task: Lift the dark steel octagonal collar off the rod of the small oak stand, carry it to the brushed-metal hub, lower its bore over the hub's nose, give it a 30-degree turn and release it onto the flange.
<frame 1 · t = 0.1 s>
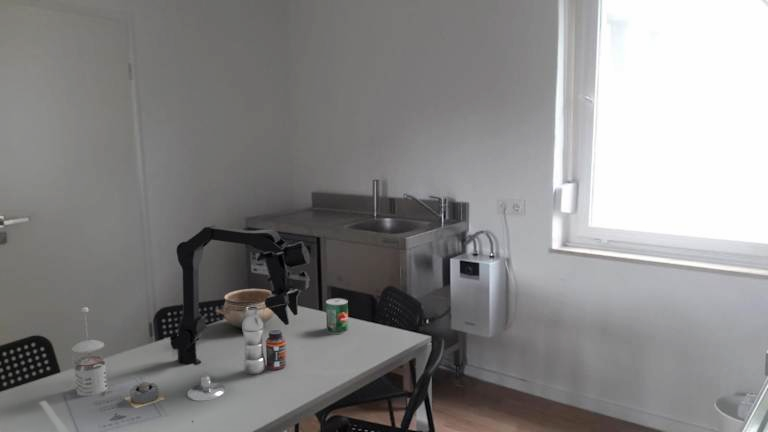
hand: (291, 319, 180), 15 cm above the table, tool pointing down, fingers open, 9 cm apart
hub: (206, 395, 164), on the table
cooking pot: (250, 327, 221), on the table
supplement bottle: (276, 367, 184), on the table
collar: (144, 398, 161), point 1 cm above the table, touching stand
french press: (90, 392, 167), on the table
stand: (145, 402, 161), on the table
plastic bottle: (255, 372, 180), on the table
canned tomato: (337, 331, 216), on the table
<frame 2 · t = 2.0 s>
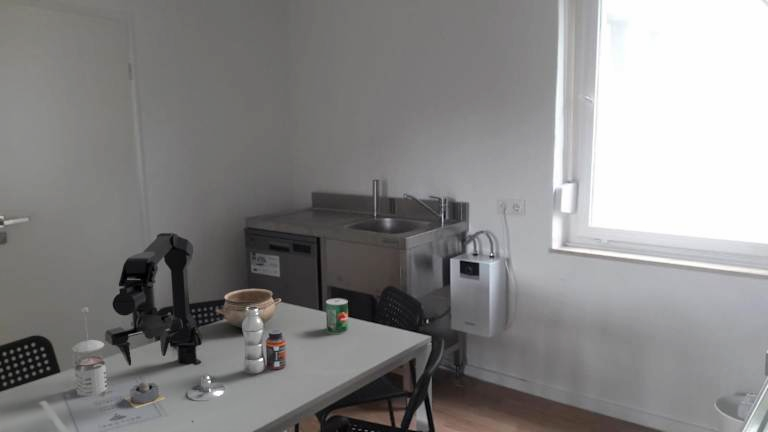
hand: (147, 360, 159), 12 cm above the table, tool pointing down, fingers open, 9 cm apart
nothing on the table moved.
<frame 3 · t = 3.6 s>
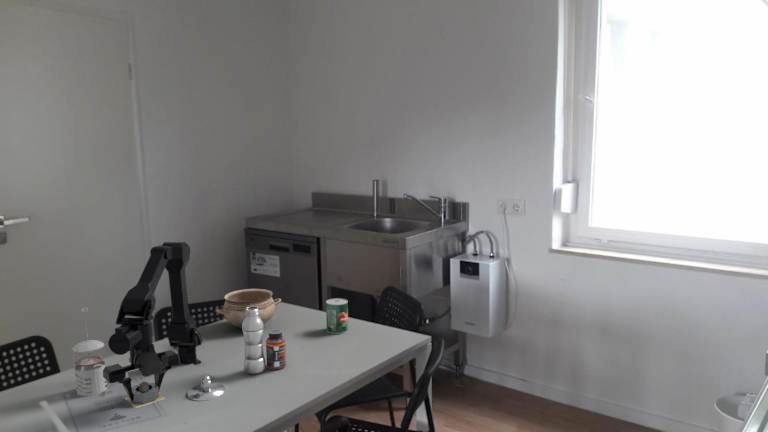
hand: (144, 395, 161), 2 cm above the table, tool pointing down, fingers closed on collar, 7 cm apart
collar: (144, 398, 161), point 1 cm above the table, touching gripper, stand
everything else where it was.
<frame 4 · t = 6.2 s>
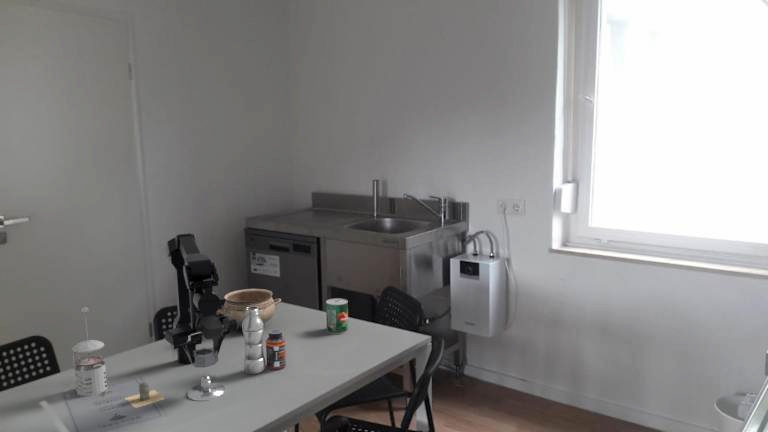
hand: (204, 359, 163), 10 cm above the table, tool pointing down, fingers closed on collar, 7 cm apart
collar: (204, 362, 163), point 10 cm above the table, touching gripper
everything else where it was.
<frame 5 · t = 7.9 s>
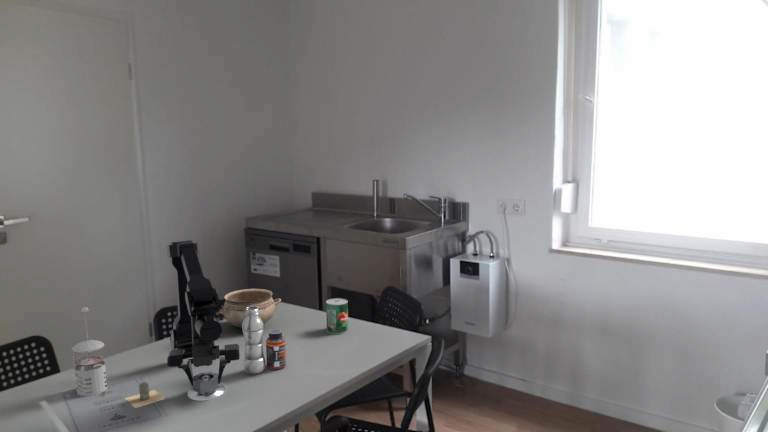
hand: (206, 384, 164), 3 cm above the table, tool pointing down, fingers closed on collar, 7 cm apart
collar: (206, 387, 164), point 2 cm above the table, touching gripper
everything else where it was.
when the fingers open (3 cm above the table, at t = 9.0 s): collar stays where it is, resting on hub.
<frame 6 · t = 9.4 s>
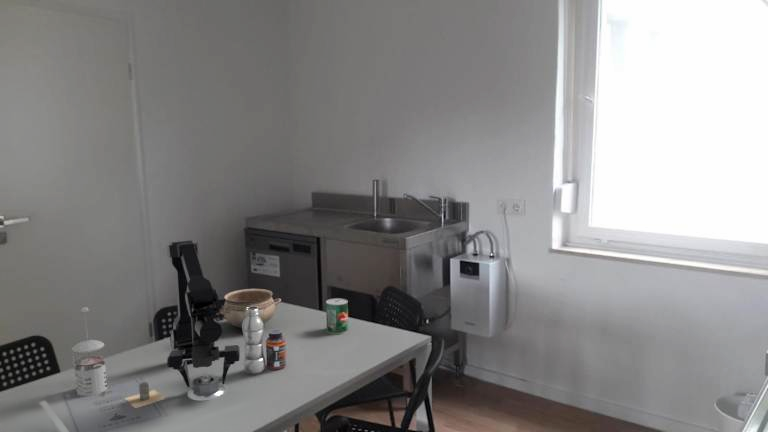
hand: (206, 385, 164), 3 cm above the table, tool pointing down, fingers open, 9 cm apart
collar: (206, 390, 164), point 1 cm above the table, touching hub
everything else where it was.
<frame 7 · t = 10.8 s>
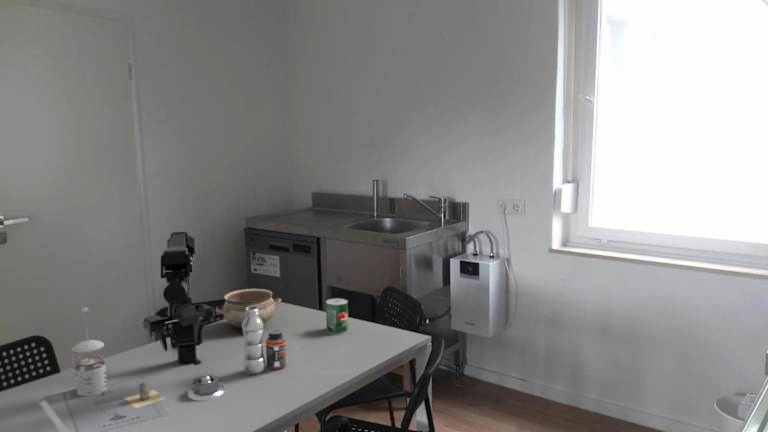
hand: (181, 346, 169), 12 cm above the table, tool pointing down, fingers open, 9 cm apart
nothing on the table moved.
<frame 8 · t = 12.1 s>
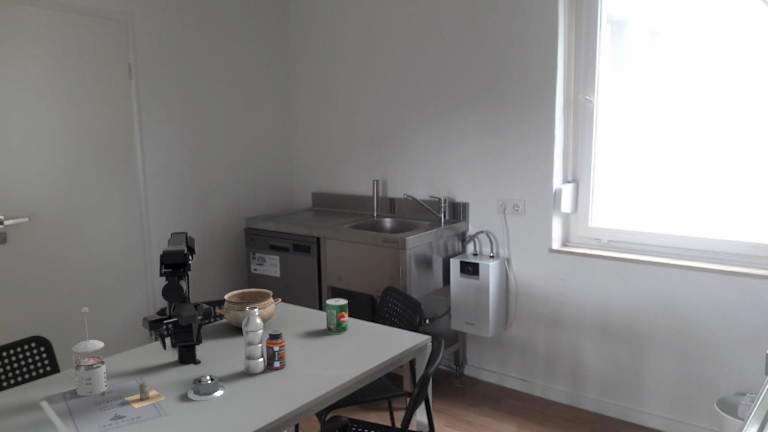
hand: (180, 345, 169), 12 cm above the table, tool pointing down, fingers open, 9 cm apart
nothing on the table moved.
at the end: collar 0.0 cm off-centre on the hub, point 1.5 cm above the hub's base; collar tilted 0°; the gripper is holding nothing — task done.
